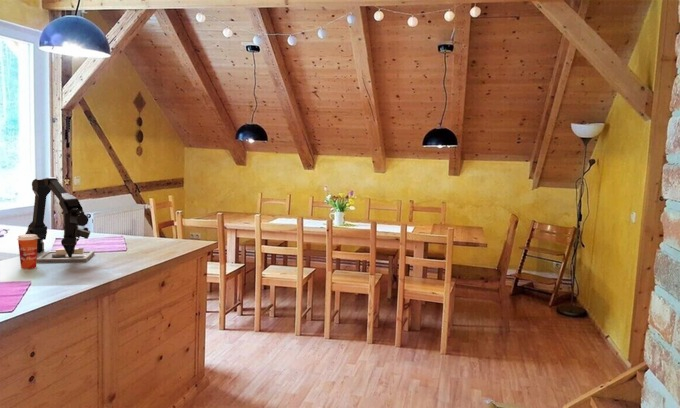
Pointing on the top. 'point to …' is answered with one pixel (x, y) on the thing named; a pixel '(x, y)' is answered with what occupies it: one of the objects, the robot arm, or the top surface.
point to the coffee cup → (28, 250)
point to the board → (65, 257)
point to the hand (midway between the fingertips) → (71, 255)
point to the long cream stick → (63, 253)
